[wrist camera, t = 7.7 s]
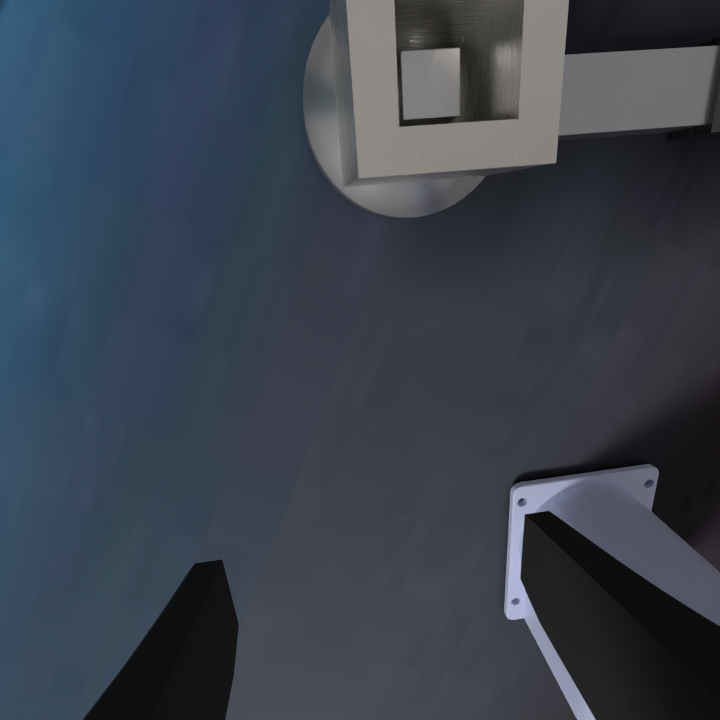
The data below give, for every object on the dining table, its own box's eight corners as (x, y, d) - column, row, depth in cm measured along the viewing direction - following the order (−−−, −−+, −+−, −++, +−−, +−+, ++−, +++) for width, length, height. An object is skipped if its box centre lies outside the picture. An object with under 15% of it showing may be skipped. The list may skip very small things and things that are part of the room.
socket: (478, 176, 15) (556, 162, 10) (343, 187, 14) (358, 178, 10) (481, 10, 13) (576, -99, 8) (328, 17, 13) (339, -93, 8)
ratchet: (788, 182, 18) (931, 174, 14) (315, 223, 17) (317, 229, 12) (839, -20, 16) (1031, -102, 12) (291, 6, 14) (283, -78, 10)
